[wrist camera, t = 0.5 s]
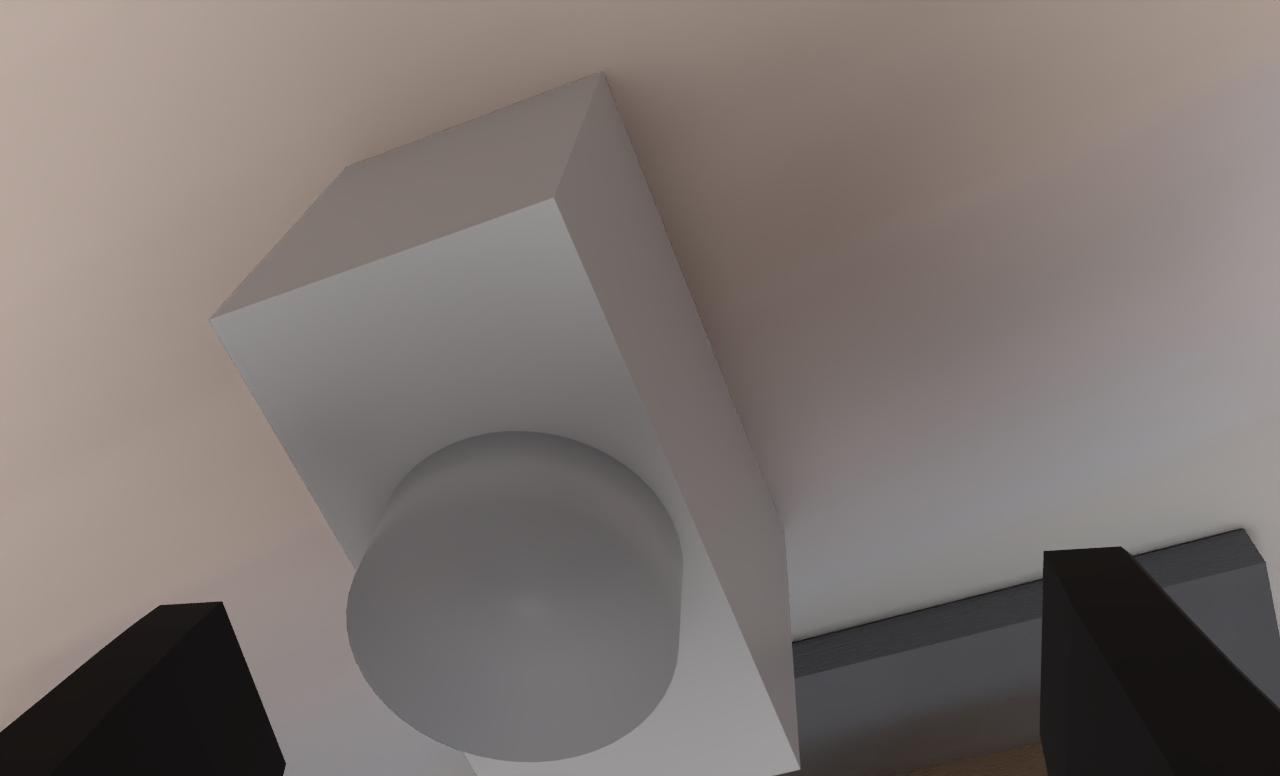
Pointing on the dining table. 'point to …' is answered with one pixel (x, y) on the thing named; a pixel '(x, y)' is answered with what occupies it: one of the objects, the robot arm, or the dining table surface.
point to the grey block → (528, 453)
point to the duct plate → (997, 670)
